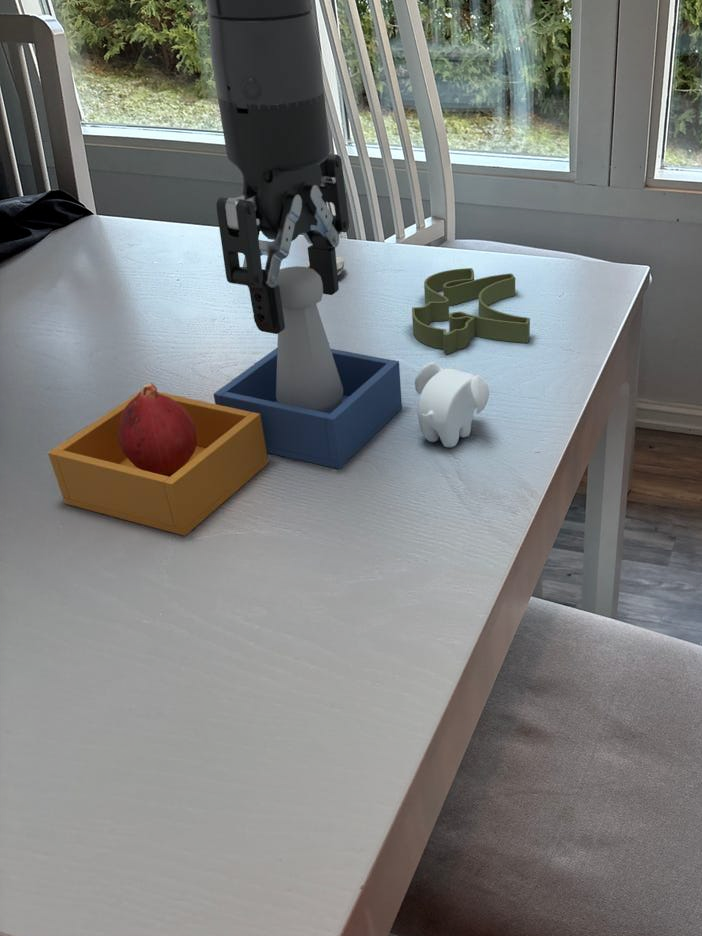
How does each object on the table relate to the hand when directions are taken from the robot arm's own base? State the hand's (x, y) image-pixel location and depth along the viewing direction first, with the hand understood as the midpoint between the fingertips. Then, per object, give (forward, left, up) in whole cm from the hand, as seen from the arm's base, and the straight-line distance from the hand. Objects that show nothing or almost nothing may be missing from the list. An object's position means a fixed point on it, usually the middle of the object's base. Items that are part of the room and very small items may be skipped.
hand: (299, 311), depth 78 cm
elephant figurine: (+12, +3, -11) cm, 16 cm away
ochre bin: (-6, -13, -10) cm, 18 cm away
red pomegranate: (-6, -13, -10) cm, 17 cm away
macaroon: (-17, +32, -11) cm, 38 cm away
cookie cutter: (+3, +27, -11) cm, 29 cm away
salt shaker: (0, 0, -10) cm, 10 cm away
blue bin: (0, 0, -10) cm, 10 cm away
